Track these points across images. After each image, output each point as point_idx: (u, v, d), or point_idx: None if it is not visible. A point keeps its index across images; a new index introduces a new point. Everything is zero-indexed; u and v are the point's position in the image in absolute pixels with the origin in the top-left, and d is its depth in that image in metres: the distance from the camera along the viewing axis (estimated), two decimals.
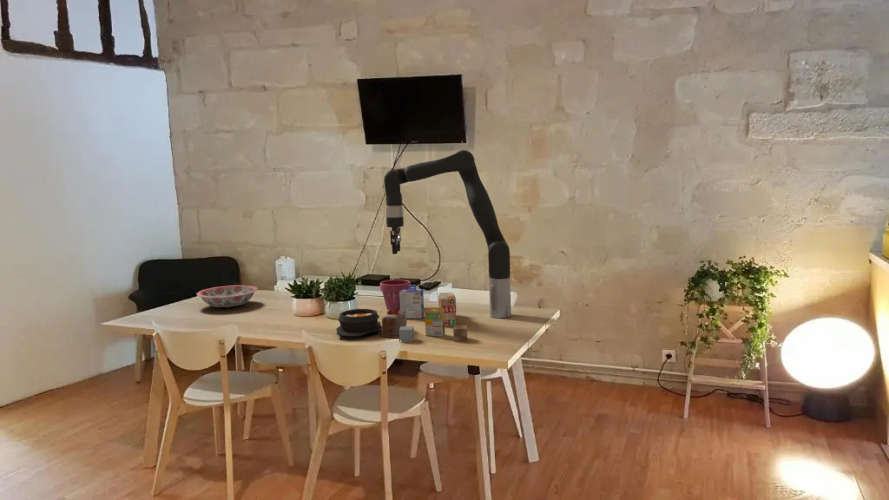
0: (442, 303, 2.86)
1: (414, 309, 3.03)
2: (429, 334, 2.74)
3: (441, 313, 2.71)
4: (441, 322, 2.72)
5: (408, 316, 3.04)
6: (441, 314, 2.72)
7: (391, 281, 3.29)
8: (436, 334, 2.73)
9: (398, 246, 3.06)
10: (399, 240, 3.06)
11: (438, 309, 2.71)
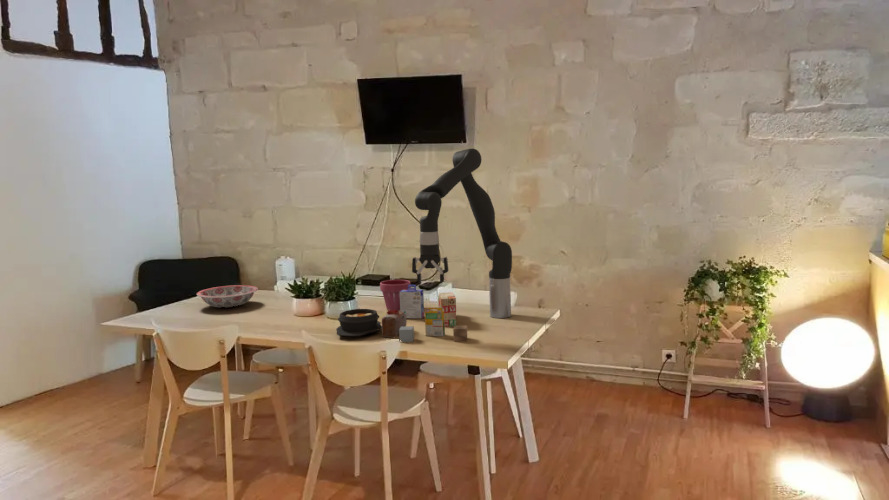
0: (442, 303, 2.86)
1: (414, 309, 3.03)
2: (429, 334, 2.74)
3: (441, 313, 2.71)
4: (441, 322, 2.72)
5: (408, 316, 3.04)
6: (441, 314, 2.72)
7: (391, 281, 3.29)
8: (436, 334, 2.73)
9: None
10: None
11: (438, 309, 2.71)
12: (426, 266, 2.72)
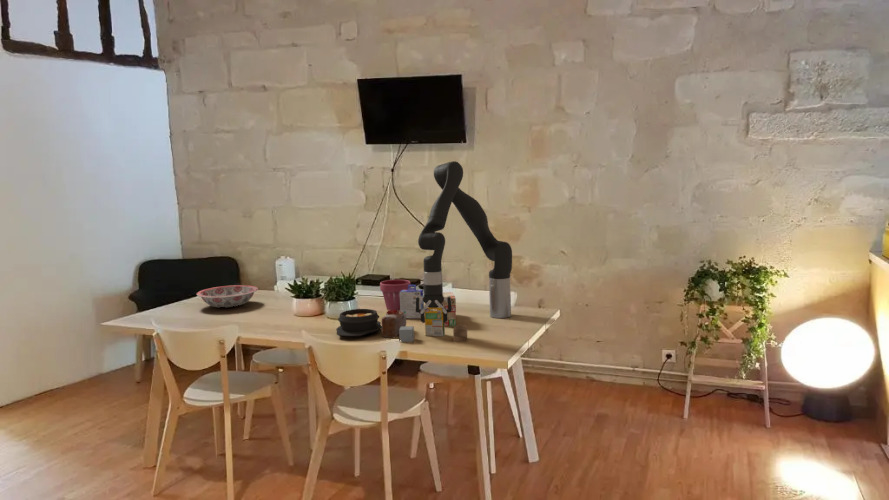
0: (442, 303, 2.87)
1: (414, 309, 3.03)
2: (429, 334, 2.74)
3: (441, 313, 2.71)
4: (441, 322, 2.72)
5: (408, 316, 3.04)
6: (441, 314, 2.72)
7: (391, 281, 3.29)
8: (436, 334, 2.73)
9: (424, 317, 2.75)
10: None
11: (438, 309, 2.71)
12: (430, 306, 2.72)
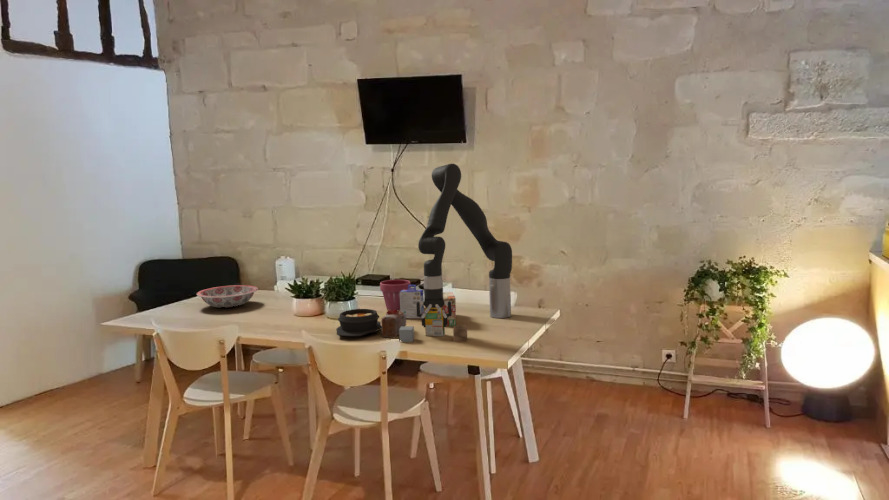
0: None
1: (414, 309, 3.03)
2: (429, 334, 2.74)
3: (441, 313, 2.71)
4: (441, 322, 2.72)
5: (408, 316, 3.04)
6: (441, 314, 2.72)
7: (391, 281, 3.29)
8: (436, 334, 2.73)
9: None
10: None
11: None
12: (430, 310, 2.72)
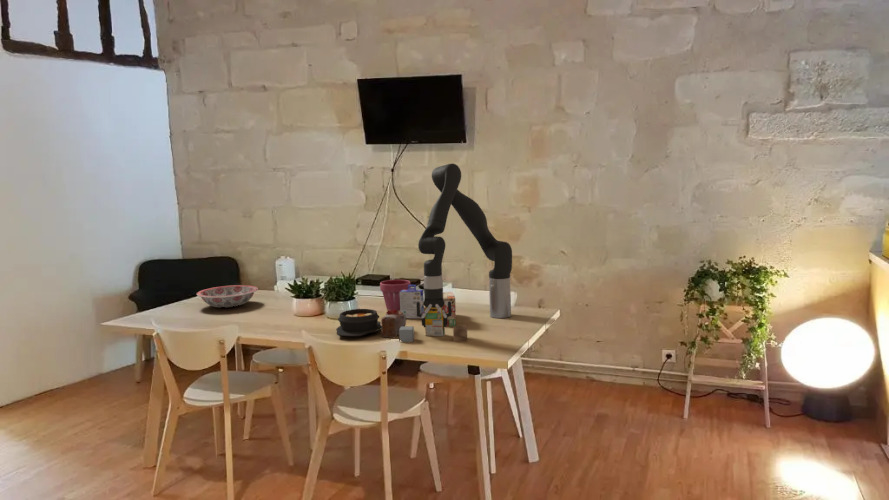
0: None
1: (414, 309, 3.03)
2: (429, 334, 2.74)
3: (441, 313, 2.71)
4: (441, 322, 2.72)
5: (408, 316, 3.04)
6: (441, 314, 2.72)
7: (391, 281, 3.29)
8: (436, 334, 2.73)
9: None
10: None
11: None
12: (430, 310, 2.72)
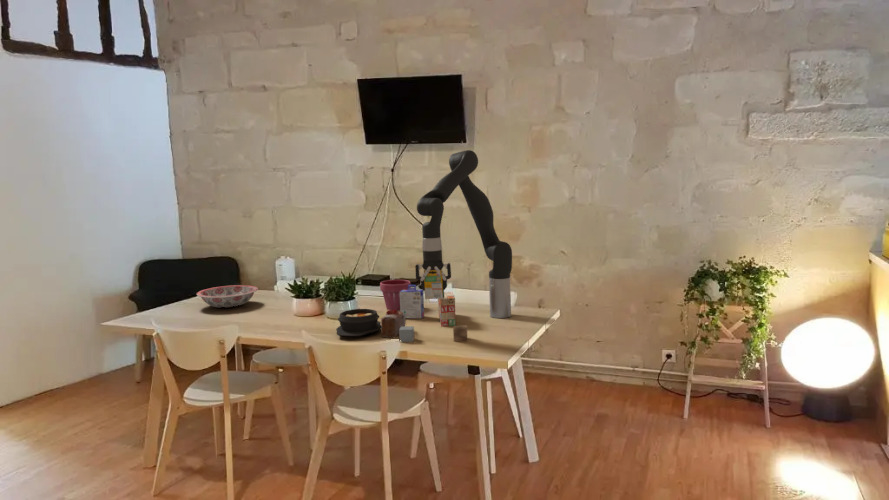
0: (441, 303, 2.87)
1: (414, 309, 3.03)
2: (428, 297, 2.71)
3: (440, 275, 2.69)
4: (440, 285, 2.70)
5: (408, 316, 3.04)
6: (440, 276, 2.69)
7: (391, 281, 3.29)
8: (435, 297, 2.71)
9: None
10: None
11: None
12: (430, 272, 2.70)
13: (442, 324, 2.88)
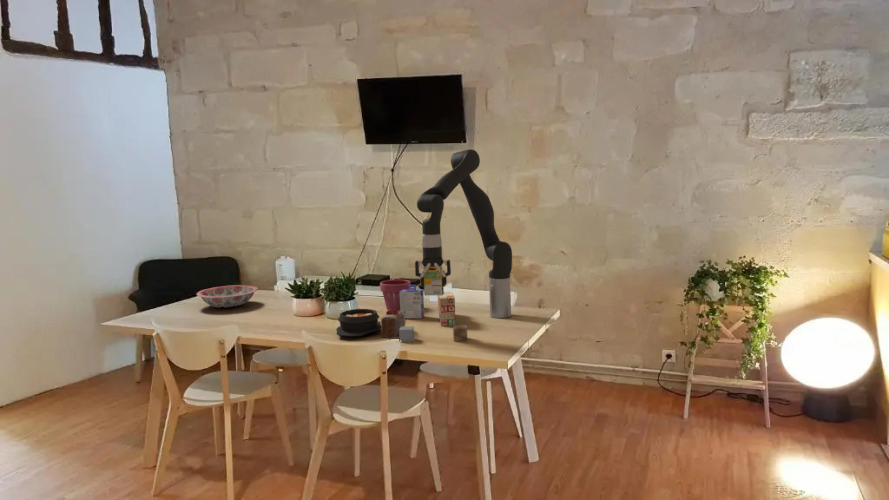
0: (441, 303, 2.87)
1: (414, 309, 3.03)
2: (428, 294, 2.71)
3: (440, 272, 2.69)
4: (440, 281, 2.70)
5: (408, 316, 3.04)
6: (440, 273, 2.69)
7: (391, 281, 3.29)
8: (435, 293, 2.71)
9: None
10: None
11: None
12: (429, 269, 2.70)
13: (442, 324, 2.89)
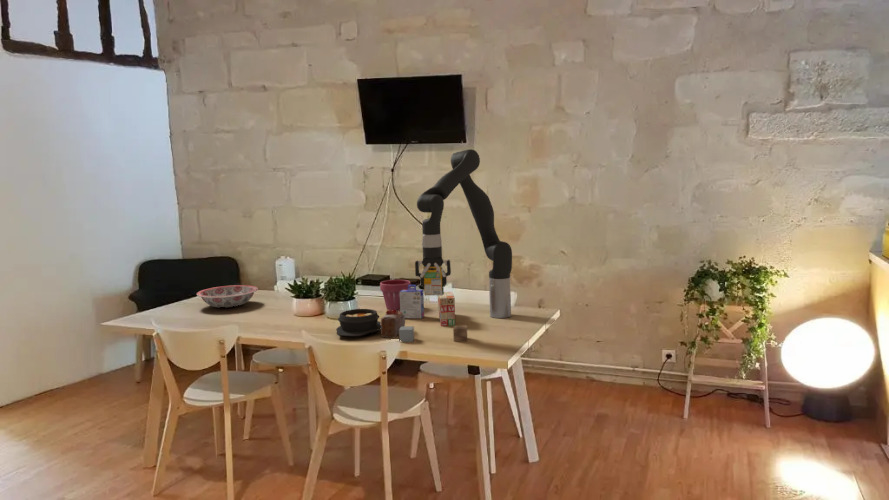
0: (441, 302, 2.87)
1: (414, 309, 3.03)
2: (428, 294, 2.71)
3: (440, 272, 2.69)
4: (440, 281, 2.70)
5: (408, 316, 3.04)
6: (440, 273, 2.69)
7: (391, 281, 3.29)
8: (435, 293, 2.71)
9: None
10: None
11: None
12: (429, 269, 2.70)
13: (442, 324, 2.89)
